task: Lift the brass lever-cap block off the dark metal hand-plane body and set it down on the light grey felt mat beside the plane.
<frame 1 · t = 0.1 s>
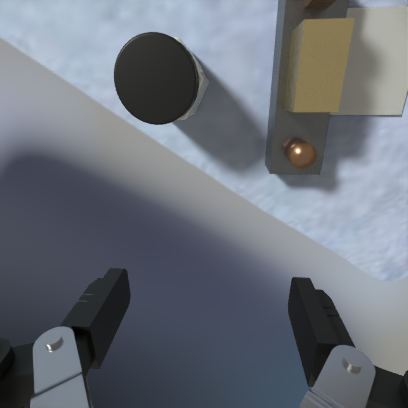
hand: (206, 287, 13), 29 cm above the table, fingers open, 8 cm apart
plane body: (296, 83, 35), on the table
lever cap: (307, 72, 30), point 5 cm above the table, touching plane body
jar: (177, 84, 36), on the table
felt mat: (370, 64, 33), on the table
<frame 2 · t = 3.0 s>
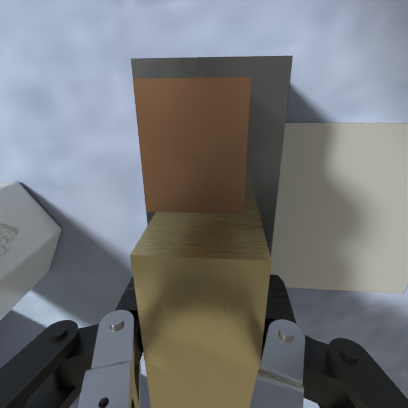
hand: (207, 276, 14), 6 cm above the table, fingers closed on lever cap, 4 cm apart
plane body: (213, 236, 19), on the table
lever cap: (209, 266, 14), point 5 cm above the table, touching gripper, plane body
jar: (11, 227, 21), on the table
felt mat: (347, 215, 18), on the table
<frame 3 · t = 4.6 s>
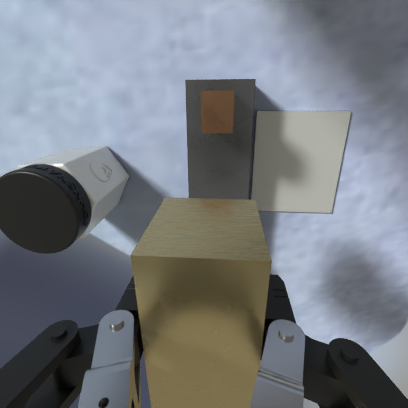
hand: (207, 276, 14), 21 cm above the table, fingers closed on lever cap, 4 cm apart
plane body: (219, 179, 33), on the table
lever cap: (209, 266, 14), point 20 cm above the table, touching gripper
jar: (97, 176, 34), on the table
felt mat: (295, 164, 31), on the table
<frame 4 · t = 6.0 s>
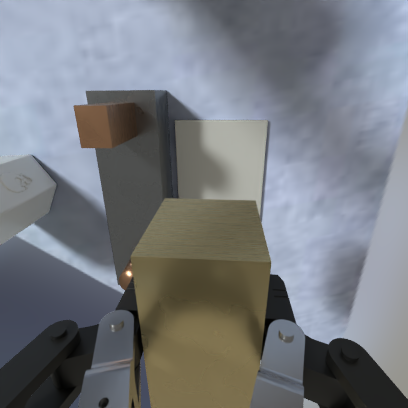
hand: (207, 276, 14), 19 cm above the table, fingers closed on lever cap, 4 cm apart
plane body: (146, 187, 33), on the table
lever cap: (209, 267, 14), point 18 cm above the table, touching gripper
jar: (26, 184, 34), on the table
felt mat: (219, 173, 31), on the table
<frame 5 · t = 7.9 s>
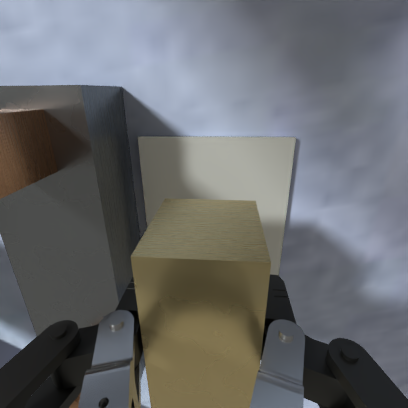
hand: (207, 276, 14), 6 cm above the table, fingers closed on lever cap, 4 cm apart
plane body: (100, 239, 21), on the table
lever cap: (209, 267, 14), point 6 cm above the table, touching gripper
felt mat: (214, 219, 19), on the table
when the fingers open (3 cm above the table, at t = 9.2 s): lever cap drops 1 cm, resting on felt mat.
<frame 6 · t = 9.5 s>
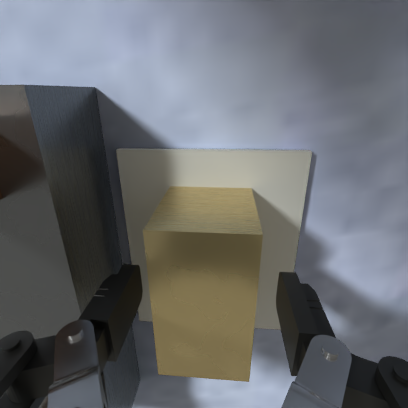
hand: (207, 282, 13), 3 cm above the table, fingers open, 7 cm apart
plane body: (76, 267, 18), on the table
lever cap: (209, 250, 16), resting on felt mat
felt mat: (211, 247, 16), on the table
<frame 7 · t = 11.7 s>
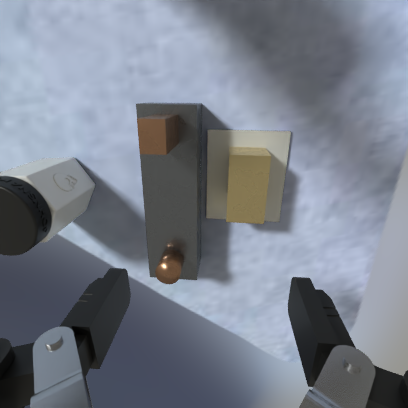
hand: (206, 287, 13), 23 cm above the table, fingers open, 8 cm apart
plane body: (177, 189, 36), on the table
lever cap: (245, 178, 34), resting on felt mat
jar: (66, 184, 38), on the table
felt mat: (245, 177, 35), on the table
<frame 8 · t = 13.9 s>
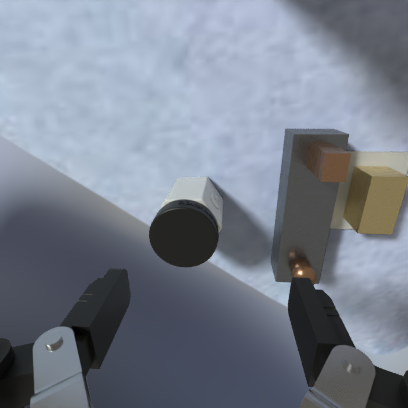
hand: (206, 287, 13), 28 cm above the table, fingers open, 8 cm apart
plane body: (298, 203, 40), on the table
lever cap: (364, 192, 39), resting on felt mat
jar: (194, 199, 42), on the table
felt mat: (363, 192, 39), on the table
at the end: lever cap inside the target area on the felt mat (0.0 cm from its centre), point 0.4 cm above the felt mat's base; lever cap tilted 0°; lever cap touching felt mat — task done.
